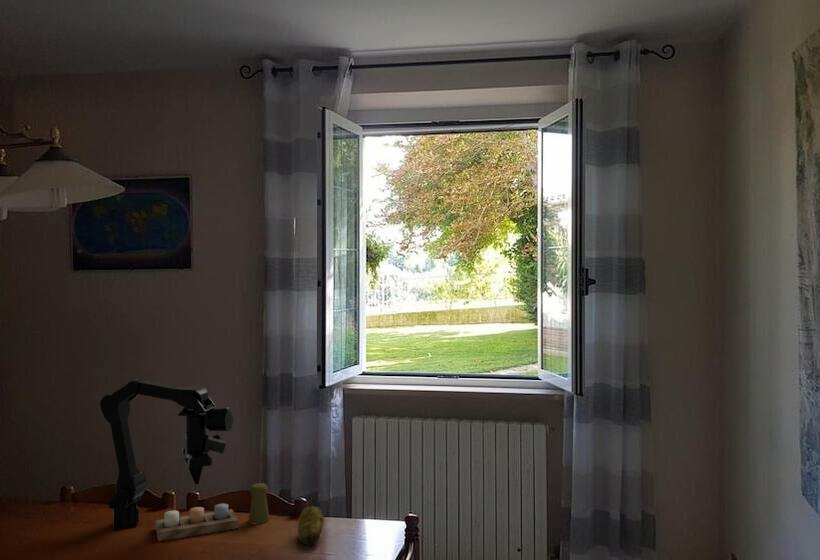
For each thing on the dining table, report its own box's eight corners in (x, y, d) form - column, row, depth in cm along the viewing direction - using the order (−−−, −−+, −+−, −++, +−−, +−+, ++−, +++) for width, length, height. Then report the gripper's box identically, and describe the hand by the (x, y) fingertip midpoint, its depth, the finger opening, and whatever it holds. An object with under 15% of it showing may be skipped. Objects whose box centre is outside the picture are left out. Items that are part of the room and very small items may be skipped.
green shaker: (271, 517, 202) (271, 481, 201) (265, 524, 195) (265, 487, 195) (252, 516, 202) (252, 480, 202) (246, 523, 196) (246, 487, 196)
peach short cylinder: (190, 526, 189) (190, 512, 189) (188, 521, 193) (188, 508, 193) (204, 524, 191) (204, 510, 191) (203, 519, 195) (203, 506, 195)
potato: (287, 546, 179) (287, 517, 179) (303, 529, 192) (303, 501, 192) (316, 549, 178) (316, 519, 178) (331, 531, 191) (331, 503, 190)
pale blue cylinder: (215, 522, 192) (215, 509, 192) (213, 518, 196) (213, 504, 196) (229, 520, 194) (229, 507, 194) (227, 516, 198) (227, 502, 198)
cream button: (164, 530, 186) (164, 516, 186) (163, 525, 190) (163, 511, 190) (179, 528, 188) (179, 514, 188) (178, 523, 192) (178, 509, 192)
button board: (158, 541, 183) (158, 532, 183) (155, 528, 192) (155, 520, 192) (238, 528, 192) (238, 520, 192) (232, 517, 201) (232, 509, 201)
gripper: (229, 434, 187) (230, 488, 187) (218, 421, 204) (219, 471, 204) (189, 438, 182) (189, 494, 182) (181, 425, 199) (181, 476, 199)
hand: (196, 483), depth 192 cm, fingers closed
